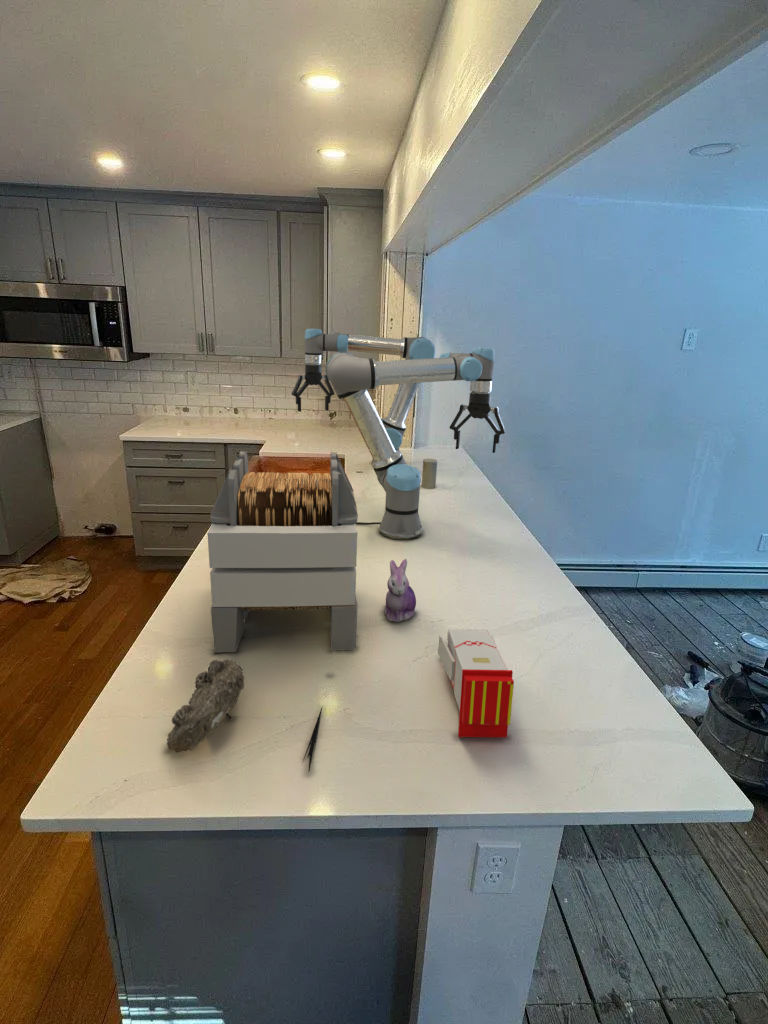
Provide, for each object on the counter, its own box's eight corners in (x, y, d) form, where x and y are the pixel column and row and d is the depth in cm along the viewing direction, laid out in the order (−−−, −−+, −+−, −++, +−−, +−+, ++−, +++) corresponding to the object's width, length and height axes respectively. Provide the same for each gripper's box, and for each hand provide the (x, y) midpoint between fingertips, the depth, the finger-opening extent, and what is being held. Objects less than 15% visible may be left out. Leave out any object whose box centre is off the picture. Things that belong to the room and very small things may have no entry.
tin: (420, 488, 252) (422, 461, 248) (422, 484, 258) (424, 458, 254) (434, 489, 251) (436, 462, 247) (435, 485, 257) (437, 459, 253)
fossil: (192, 660, 117) (244, 628, 112) (224, 691, 120) (276, 661, 115) (142, 746, 98) (202, 712, 93) (182, 779, 101) (242, 748, 96)
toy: (488, 613, 130) (523, 677, 101) (484, 667, 133) (517, 744, 104) (435, 612, 130) (455, 676, 101) (432, 666, 133) (451, 743, 103)
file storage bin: (232, 584, 158) (225, 442, 144) (349, 583, 162) (353, 444, 148) (211, 655, 127) (198, 480, 113) (357, 651, 130) (362, 482, 117)
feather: (331, 679, 122) (336, 673, 122) (307, 777, 96) (313, 769, 95) (324, 675, 122) (329, 669, 121) (298, 772, 95) (304, 764, 95)
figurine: (392, 627, 141) (395, 572, 136) (374, 608, 149) (376, 556, 144) (425, 619, 145) (429, 566, 140) (405, 601, 154) (408, 550, 149)
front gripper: (516, 393, 203) (510, 451, 210) (448, 388, 210) (444, 444, 217) (514, 396, 196) (508, 455, 203) (444, 391, 203) (440, 448, 210)
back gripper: (289, 365, 250) (290, 413, 257) (341, 364, 261) (340, 411, 268) (284, 363, 256) (285, 410, 264) (335, 363, 267) (335, 408, 274)
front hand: (475, 450), depth 210 cm, fingers open, 13 cm apart
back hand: (313, 410), depth 266 cm, fingers open, 13 cm apart
